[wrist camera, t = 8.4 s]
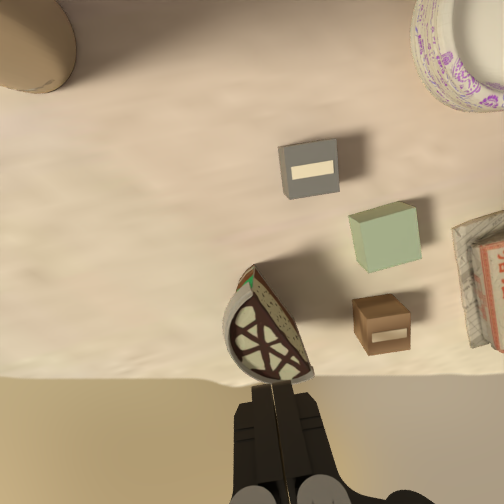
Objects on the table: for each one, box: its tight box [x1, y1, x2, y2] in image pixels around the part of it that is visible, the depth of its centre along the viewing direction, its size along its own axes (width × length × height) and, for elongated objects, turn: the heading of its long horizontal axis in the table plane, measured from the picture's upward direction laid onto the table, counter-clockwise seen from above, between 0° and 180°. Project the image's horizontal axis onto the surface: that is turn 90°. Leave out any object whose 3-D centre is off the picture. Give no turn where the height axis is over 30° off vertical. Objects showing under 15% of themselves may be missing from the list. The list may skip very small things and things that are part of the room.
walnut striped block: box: [352, 294, 411, 356], centre depth 39 cm, size 5×5×5 cm
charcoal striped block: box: [278, 139, 340, 200], centre depth 33 cm, size 5×5×5 cm
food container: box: [223, 265, 315, 384], centre depth 35 cm, size 12×6×10 cm, turn 34°
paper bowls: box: [410, 0, 504, 113], centre depth 28 cm, size 15×15×8 cm
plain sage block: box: [348, 201, 422, 273], centre depth 36 cm, size 6×6×4 cm
